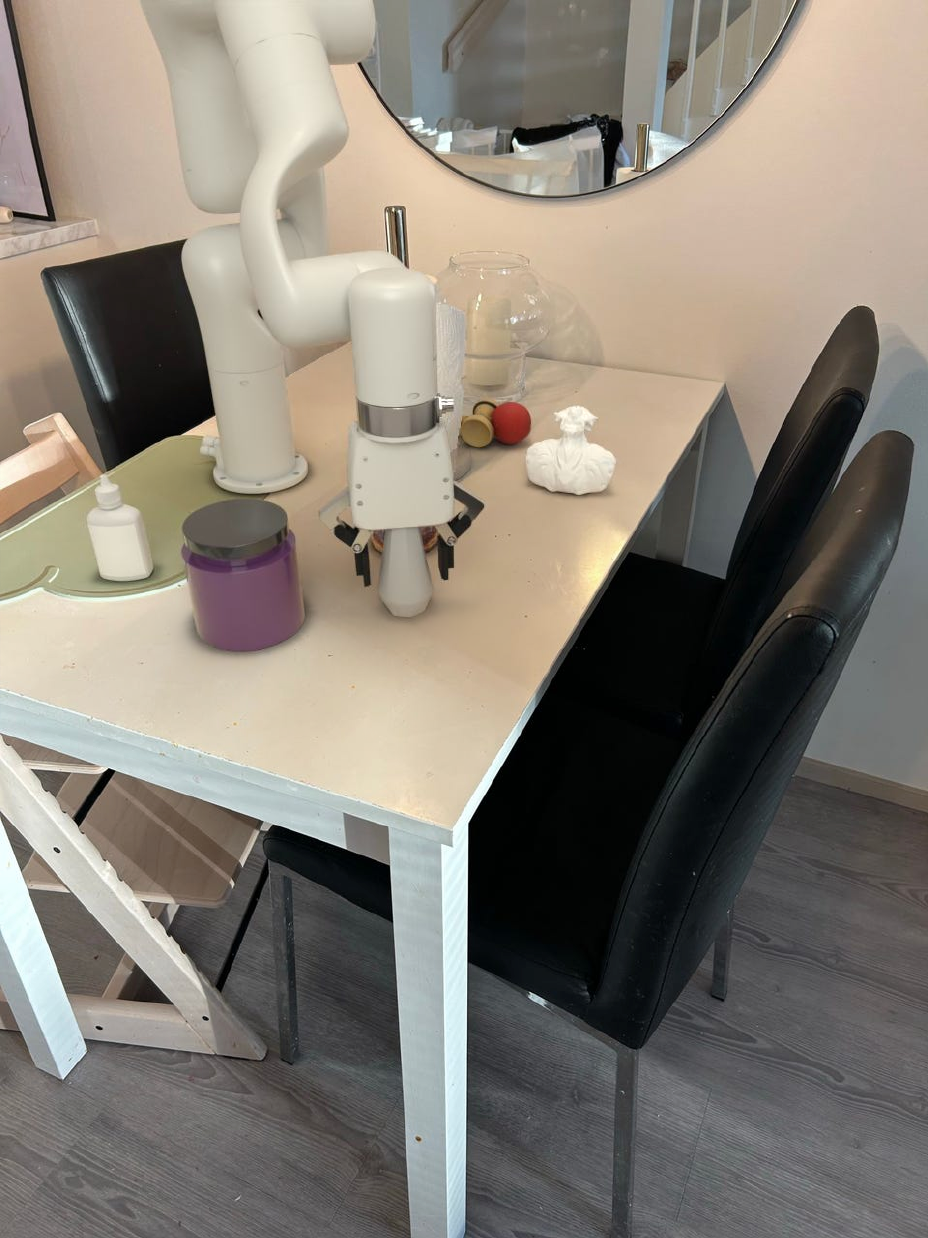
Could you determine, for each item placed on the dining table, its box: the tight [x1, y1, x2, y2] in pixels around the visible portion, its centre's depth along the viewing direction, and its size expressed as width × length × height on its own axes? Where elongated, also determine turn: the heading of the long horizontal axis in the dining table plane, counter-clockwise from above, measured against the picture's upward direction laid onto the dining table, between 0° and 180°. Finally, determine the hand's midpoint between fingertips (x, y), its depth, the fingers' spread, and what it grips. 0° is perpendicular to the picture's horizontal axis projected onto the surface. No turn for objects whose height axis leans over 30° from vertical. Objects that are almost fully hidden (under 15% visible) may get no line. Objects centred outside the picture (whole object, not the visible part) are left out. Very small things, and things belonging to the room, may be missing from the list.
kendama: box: [459, 397, 532, 448], centre depth 131 cm, size 8×6×18 cm
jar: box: [180, 498, 306, 652], centre depth 89 cm, size 11×11×12 cm
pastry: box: [371, 526, 439, 554], centre depth 105 cm, size 8×8×5 cm
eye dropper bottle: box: [85, 474, 154, 582], centre depth 97 cm, size 4×6×12 cm
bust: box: [524, 404, 617, 496], centre depth 117 cm, size 12×8×11 cm
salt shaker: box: [376, 527, 435, 618], centre depth 91 cm, size 6×6×13 cm
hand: (405, 575), depth 92 cm, fingers open, 7 cm apart
